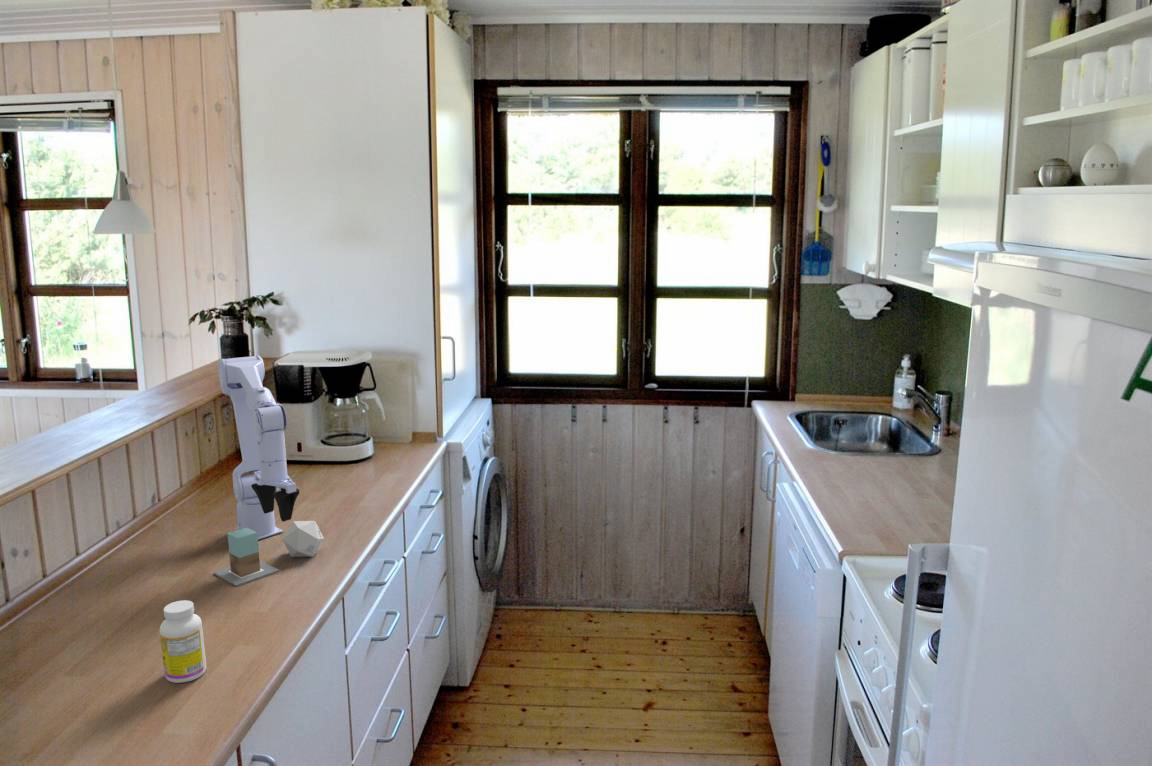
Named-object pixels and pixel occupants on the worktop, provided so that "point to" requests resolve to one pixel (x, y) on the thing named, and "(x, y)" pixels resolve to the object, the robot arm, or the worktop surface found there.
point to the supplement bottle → (182, 643)
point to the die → (303, 539)
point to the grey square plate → (238, 580)
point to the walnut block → (245, 564)
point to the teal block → (243, 542)
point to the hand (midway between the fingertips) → (277, 516)
